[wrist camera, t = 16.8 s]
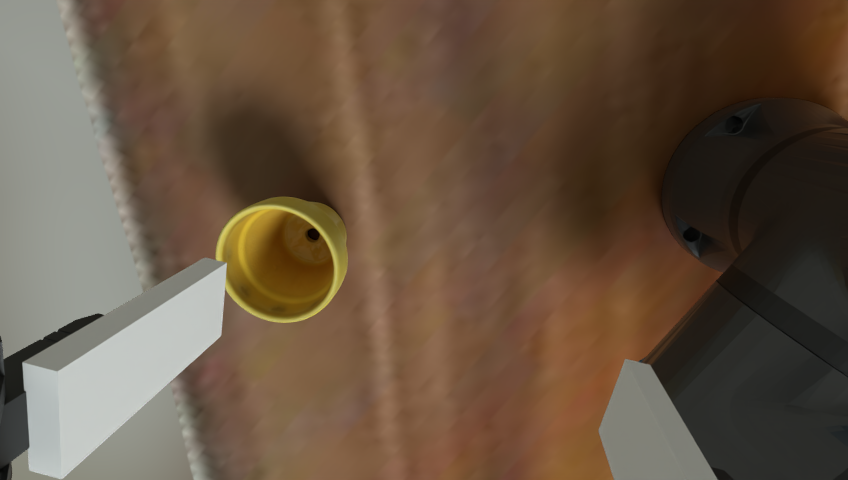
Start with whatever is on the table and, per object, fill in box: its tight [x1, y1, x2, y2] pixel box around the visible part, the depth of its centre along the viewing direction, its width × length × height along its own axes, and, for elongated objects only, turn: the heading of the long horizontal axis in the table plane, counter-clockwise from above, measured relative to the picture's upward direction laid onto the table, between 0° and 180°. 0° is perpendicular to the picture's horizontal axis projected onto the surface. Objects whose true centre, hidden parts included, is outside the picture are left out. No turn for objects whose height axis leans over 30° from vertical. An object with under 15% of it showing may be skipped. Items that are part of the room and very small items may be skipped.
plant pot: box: [216, 197, 348, 323], centre depth 44 cm, size 10×10×10 cm
